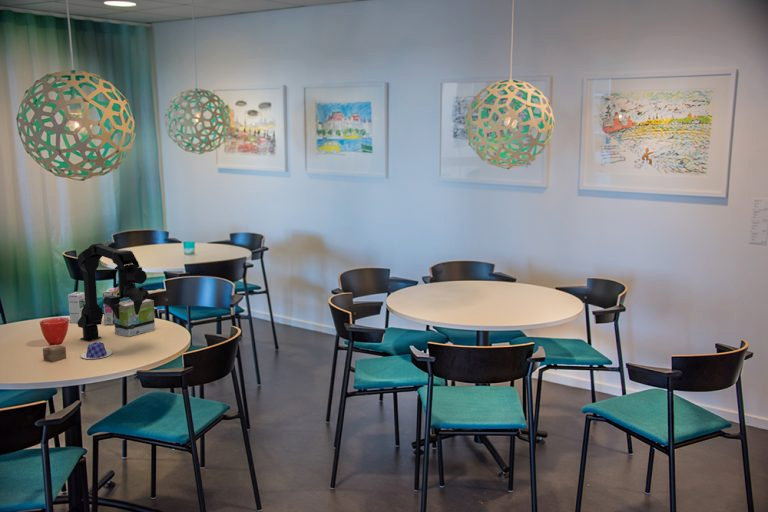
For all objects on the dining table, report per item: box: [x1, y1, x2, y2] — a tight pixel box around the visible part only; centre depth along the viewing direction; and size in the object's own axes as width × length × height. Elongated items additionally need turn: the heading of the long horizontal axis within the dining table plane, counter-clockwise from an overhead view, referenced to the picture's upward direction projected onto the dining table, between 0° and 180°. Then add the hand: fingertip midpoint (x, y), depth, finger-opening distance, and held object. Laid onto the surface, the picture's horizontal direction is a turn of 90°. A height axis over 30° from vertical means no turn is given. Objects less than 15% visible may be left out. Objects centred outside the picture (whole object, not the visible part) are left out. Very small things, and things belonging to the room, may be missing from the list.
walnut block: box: [42, 344, 67, 363], centre depth 278 cm, size 6×6×5 cm
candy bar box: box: [102, 287, 119, 326], centre depth 333 cm, size 11×5×16 cm, turn 5°
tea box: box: [114, 298, 156, 338], centre depth 317 cm, size 15×10×15 cm
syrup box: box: [67, 291, 85, 324], centre depth 334 cm, size 6×6×14 cm
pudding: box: [80, 341, 113, 360], centre depth 284 cm, size 12×12×5 cm
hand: (127, 316), depth 290 cm, fingers open, 9 cm apart
